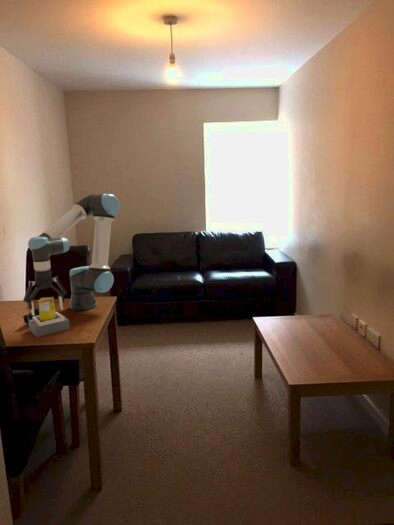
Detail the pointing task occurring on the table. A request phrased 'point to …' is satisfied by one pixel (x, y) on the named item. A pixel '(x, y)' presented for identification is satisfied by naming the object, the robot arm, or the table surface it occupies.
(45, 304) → the supplement box
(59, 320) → the grey tray
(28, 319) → the night vision scope
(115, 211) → the robot arm
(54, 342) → the table surface
